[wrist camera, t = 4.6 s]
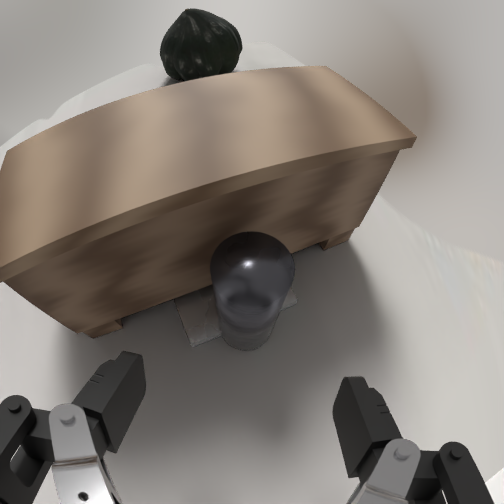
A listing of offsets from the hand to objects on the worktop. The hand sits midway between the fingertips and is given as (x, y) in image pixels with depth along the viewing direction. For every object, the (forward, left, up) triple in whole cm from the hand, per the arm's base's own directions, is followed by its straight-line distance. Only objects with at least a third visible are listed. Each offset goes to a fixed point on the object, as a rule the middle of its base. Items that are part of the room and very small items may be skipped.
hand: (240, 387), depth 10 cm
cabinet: (+3, +13, -10) cm, 17 cm away
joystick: (+3, +9, -10) cm, 14 cm away
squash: (+14, +49, -11) cm, 52 cm away
